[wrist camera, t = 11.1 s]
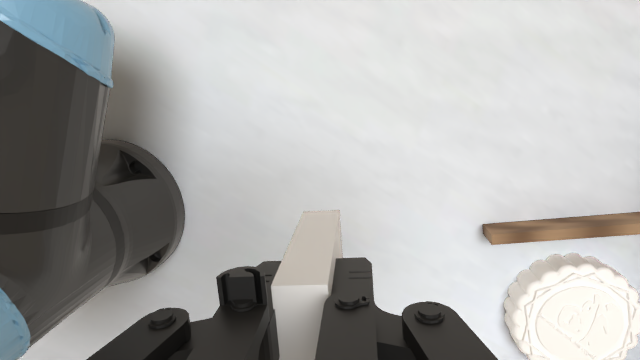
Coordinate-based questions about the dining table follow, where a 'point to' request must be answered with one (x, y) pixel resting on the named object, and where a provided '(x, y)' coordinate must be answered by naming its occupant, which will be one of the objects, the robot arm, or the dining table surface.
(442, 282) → the dining table surface
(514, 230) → the wooden u-shaped frame
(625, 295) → the mooncake
